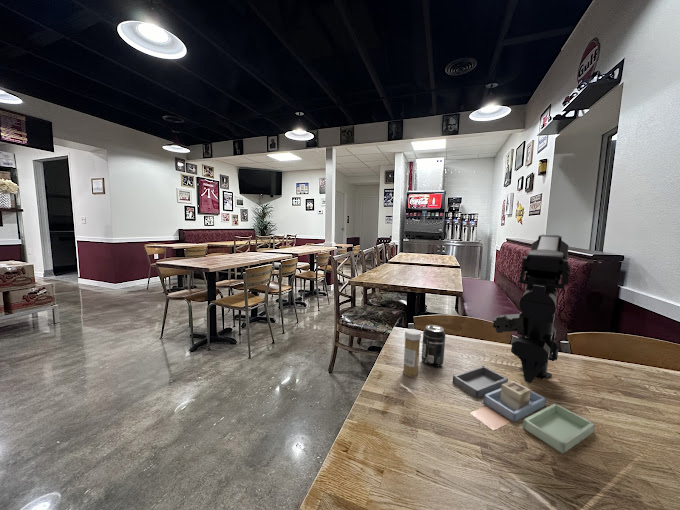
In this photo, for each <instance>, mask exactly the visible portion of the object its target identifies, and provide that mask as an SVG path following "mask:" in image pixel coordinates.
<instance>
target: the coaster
mask: <svg viewBox="0 0 680 510" xmlns="http://www.w3.org/2000/svg"><path fill="white" fill-rule="evenodd" d="M469 414H470V415H471V416H472V417H474V418H475V419H477V420H478V421H479V422H481V423H482V424H483V425H484V426H486V427H488V428H489V429H490V430H492V431H493V432H494V431H496V430H498V429H500V428H502V427H503V426H505V425H509V424H510V423H511V422H510V420H507V419H506V418H505V417H503V416H501V415H500V413H498V412H497V411H496V412H495V410H494V409H493V410H492V408H489V407H488V406H485V405H484V406H482V407H481V408H478V409H476V410H473V411H471V412H469Z"/></svg>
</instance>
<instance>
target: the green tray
mask: <svg viewBox="0 0 680 510" xmlns="http://www.w3.org/2000/svg"><path fill="white" fill-rule="evenodd" d="M595 427H596V423H594V422H592V421H590V420H588V419H587V418H584V417H583V416H580V415H579V414H577V413H575V412H573V411H571V410H569V409H568V408H565V407H564V406H561V405H560V404H557V403H552V404H551V405H548V406H547V407H544V408H543V409H541V410H539V411H536V412H535V413H533V414H532V415H531V414H530V415H528V417H525V418H524V419H523V422H522V429H524V430H525V431H527V432H528V433H530V434H531V435H533V436H534V437H536V438H538V439H539V440H540V441H543V442H544V443H545V444H547V445H549V446H550V447H552V448H553V449H555V450H556V451H558V452H559V453H561V454H562V455H563V454H565V453H566V452H568V451H569V450H571V449H572V448H573V447H575V446H577V444H579V443H581V442H582V441H584V440H586V438H588V437H590V436H591V435H592V434H594V432H595Z"/></svg>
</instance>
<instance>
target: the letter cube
mask: <svg viewBox="0 0 680 510" xmlns="http://www.w3.org/2000/svg"><path fill="white" fill-rule="evenodd" d="M531 391H532V390H531V389H530V388H529V387H526V386H524V385H522V384H521V383H519V382H516V381H514V380H510V381H509V380H508V382H507V383H504V384H502V386H501V396H500V401H501V402H503V403H504V404H506V405H507V406H509V407H511V408H512V409H514V410H518V409H520V408H522V407H524V406H526V405H529V401H530V392H531Z"/></svg>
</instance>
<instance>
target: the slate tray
mask: <svg viewBox="0 0 680 510" xmlns="http://www.w3.org/2000/svg"><path fill="white" fill-rule="evenodd" d="M500 396H501V388H499V389H497V390H495V391H492V392H490V393H487V394H485V395H483V403H484V404H485V405H487V407H488V406H489V407H490V408H491V409H493V410H494V411H496V412H497V413H498V414H501V415H503V416H504V418H505V417H506V418H507V419H509V421H512V422H513V423H515V422H516V421H518V420H520V419H522V418H526V416H529V415H531V414H532V413H534V412H537V411H538V410H540V409H542V408H545V407H546V405H547V404H546V403H547V398H546V397H544V396H543V395H540V394H539V393H536V392H535V391H533V390H531V392H530V401H529V405H526V406H524V407H522V408H520V409H518V410H514V409H512V408H511V407H509V406H507V405H506V404H504V403H503V402H501V401H500Z"/></svg>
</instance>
